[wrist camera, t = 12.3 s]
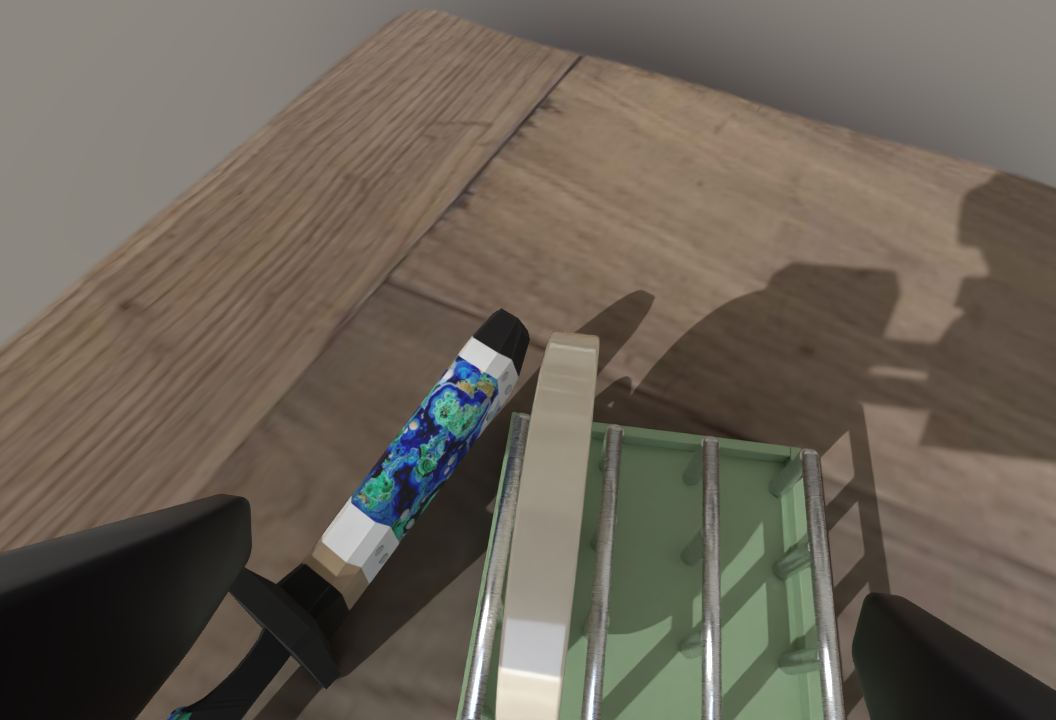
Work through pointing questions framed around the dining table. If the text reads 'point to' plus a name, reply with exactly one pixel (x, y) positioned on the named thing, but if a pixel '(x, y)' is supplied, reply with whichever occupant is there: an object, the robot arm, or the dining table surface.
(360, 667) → the dining table surface
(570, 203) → the dining table surface
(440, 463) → the knife
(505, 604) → the plate
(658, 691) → the dish rack
